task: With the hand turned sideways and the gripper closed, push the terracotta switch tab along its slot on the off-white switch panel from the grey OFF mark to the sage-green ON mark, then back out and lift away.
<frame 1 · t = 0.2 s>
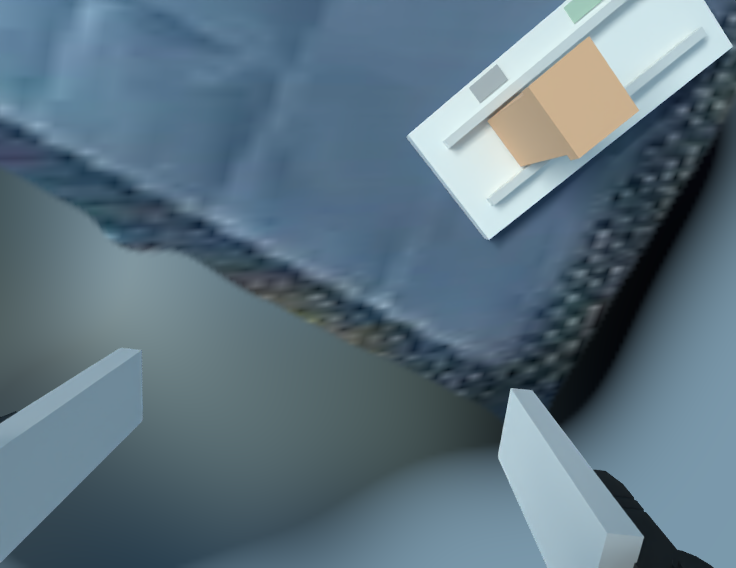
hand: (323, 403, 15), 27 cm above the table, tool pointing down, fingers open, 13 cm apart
switch tab: (548, 116, 33), point 7 cm above the table, slide at 0.0 cm
switch panel: (560, 95, 39), on the table
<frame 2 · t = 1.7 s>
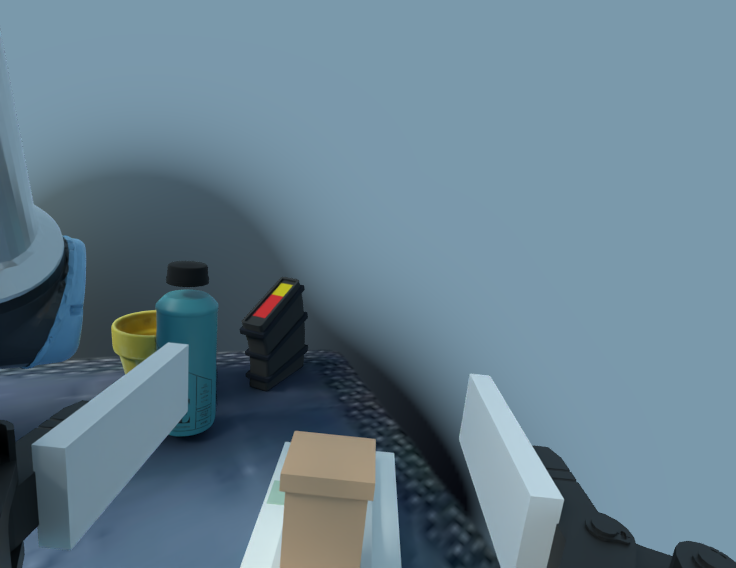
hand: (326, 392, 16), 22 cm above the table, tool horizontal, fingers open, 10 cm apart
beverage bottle: (186, 435, 50), on the table
plant pot: (157, 391, 59), on the table
switch tab: (324, 527, 29), point 7 cm above the table, slide at 0.0 cm
switch panel: (324, 557, 36), on the table
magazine: (274, 379, 66), on the table
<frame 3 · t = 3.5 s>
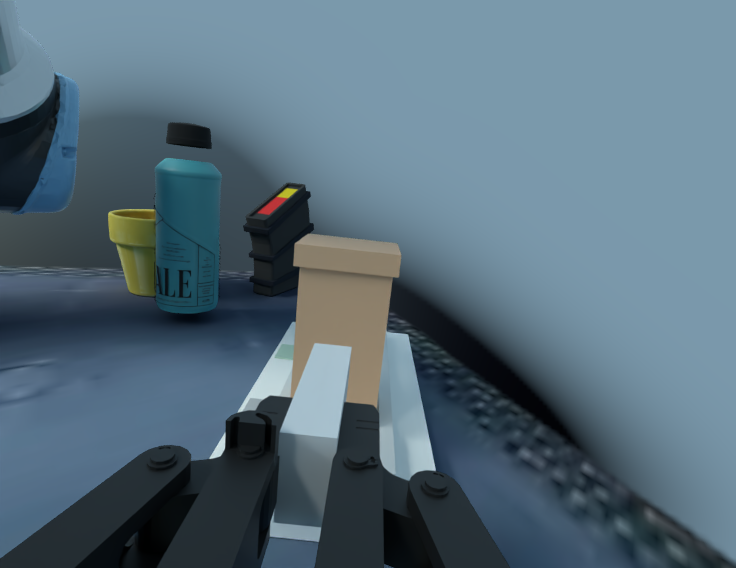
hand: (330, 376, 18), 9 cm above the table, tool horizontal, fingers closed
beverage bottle: (187, 320, 47), on the table
plant pot: (157, 291, 56), on the table
switch tab: (341, 333, 26), point 7 cm above the table, slide at 0.0 cm
switch panel: (338, 403, 33), on the table
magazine: (278, 290, 63), on the table
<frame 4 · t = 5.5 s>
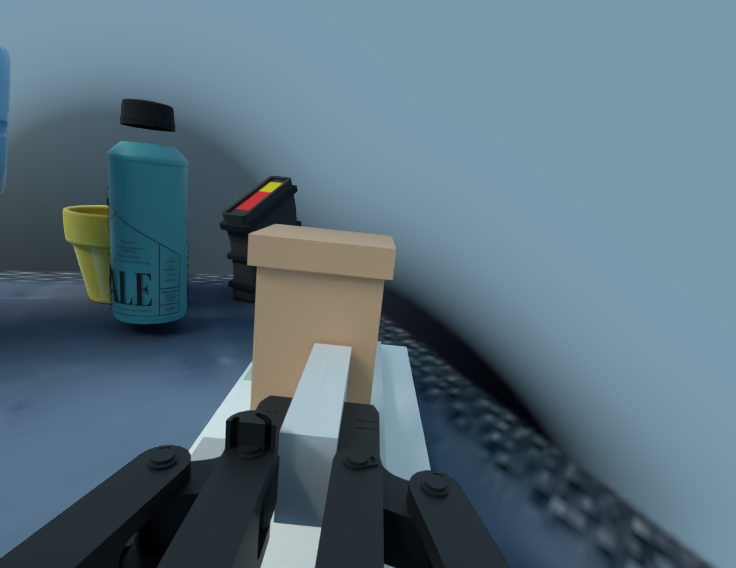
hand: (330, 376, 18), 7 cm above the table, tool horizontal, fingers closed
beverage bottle: (150, 331, 41), on the table
plant pot: (122, 298, 50), on the table
switch tab: (318, 354, 20), point 7 cm above the table, slide at 0.1 cm, touching gripper
switch panel: (319, 437, 26), on the table
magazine: (262, 296, 57), on the table
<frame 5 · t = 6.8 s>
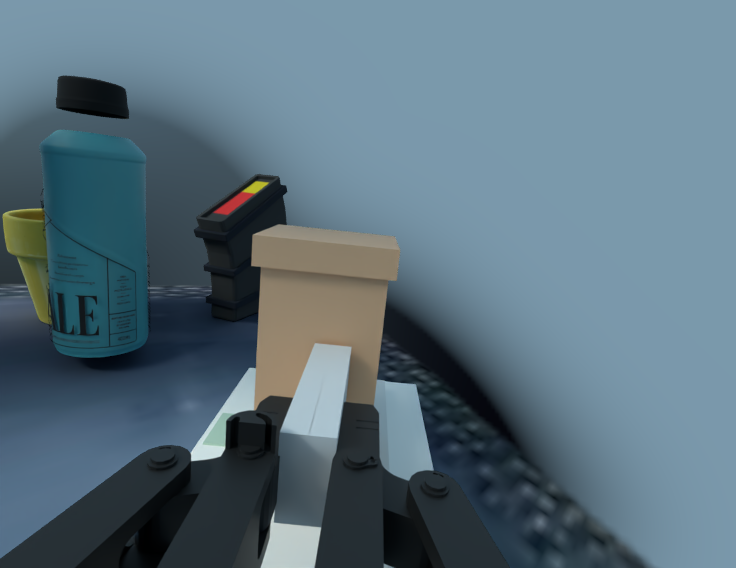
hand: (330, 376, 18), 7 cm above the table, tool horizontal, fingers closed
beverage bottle: (103, 363, 33), on the table
plant pot: (80, 317, 42), on the table
switch tab: (322, 355, 20), point 7 cm above the table, slide at 7.6 cm, touching gripper
switch panel: (301, 534, 19), on the table
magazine: (246, 312, 49), on the table
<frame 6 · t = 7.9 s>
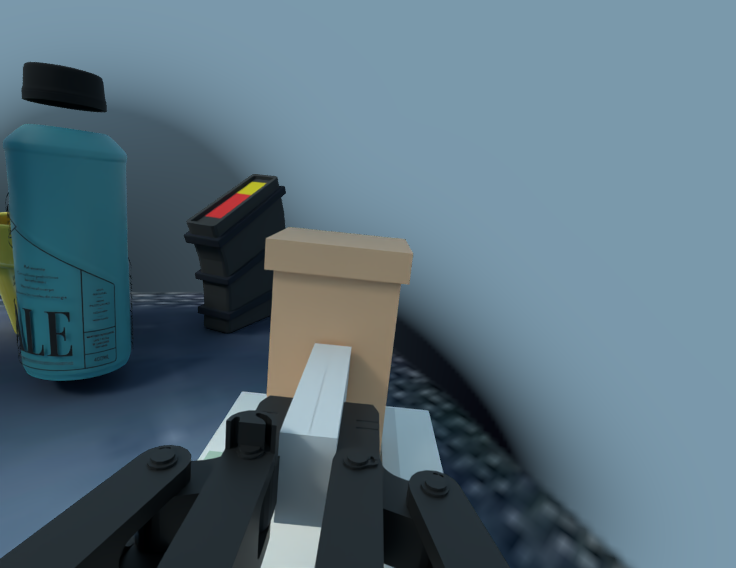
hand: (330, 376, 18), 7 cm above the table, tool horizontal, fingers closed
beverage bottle: (80, 384, 30), on the table
plant pot: (60, 330, 39), on the table
switch tab: (332, 358, 20), point 7 cm above the table, slide at 11.1 cm, touching gripper
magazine: (242, 322, 46), on the table
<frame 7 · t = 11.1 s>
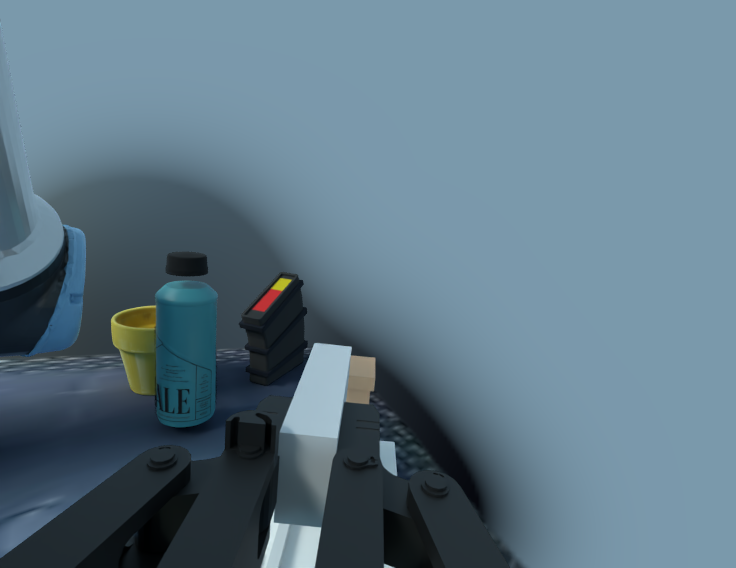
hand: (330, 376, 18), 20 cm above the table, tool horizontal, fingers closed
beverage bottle: (186, 427, 50), on the table
plant pot: (157, 386, 59), on the table
switch tab: (338, 420, 40), point 7 cm above the table, slide at 11.0 cm
switch panel: (325, 540, 35), on the table
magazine: (274, 375, 66), on the table
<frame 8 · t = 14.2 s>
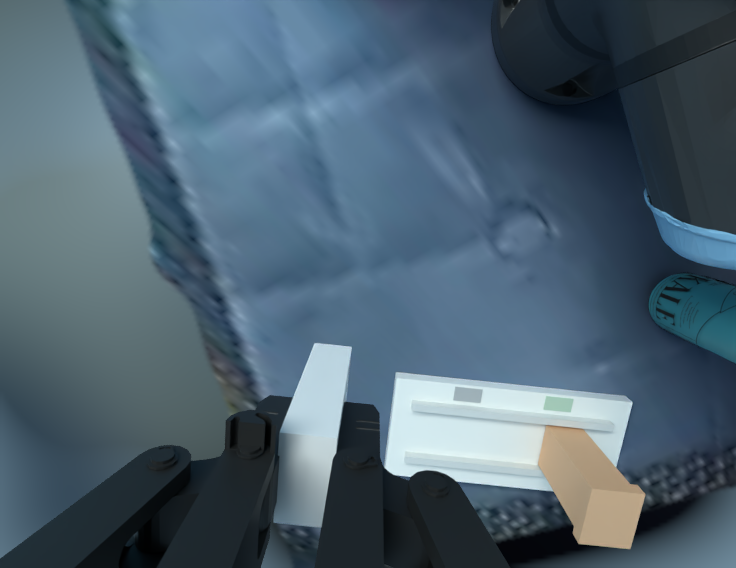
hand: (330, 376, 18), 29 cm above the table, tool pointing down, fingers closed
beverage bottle: (666, 297, 47), on the table
switch tab: (582, 478, 43), point 7 cm above the table, slide at 11.0 cm
switch panel: (501, 431, 51), on the table
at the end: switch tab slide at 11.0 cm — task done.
